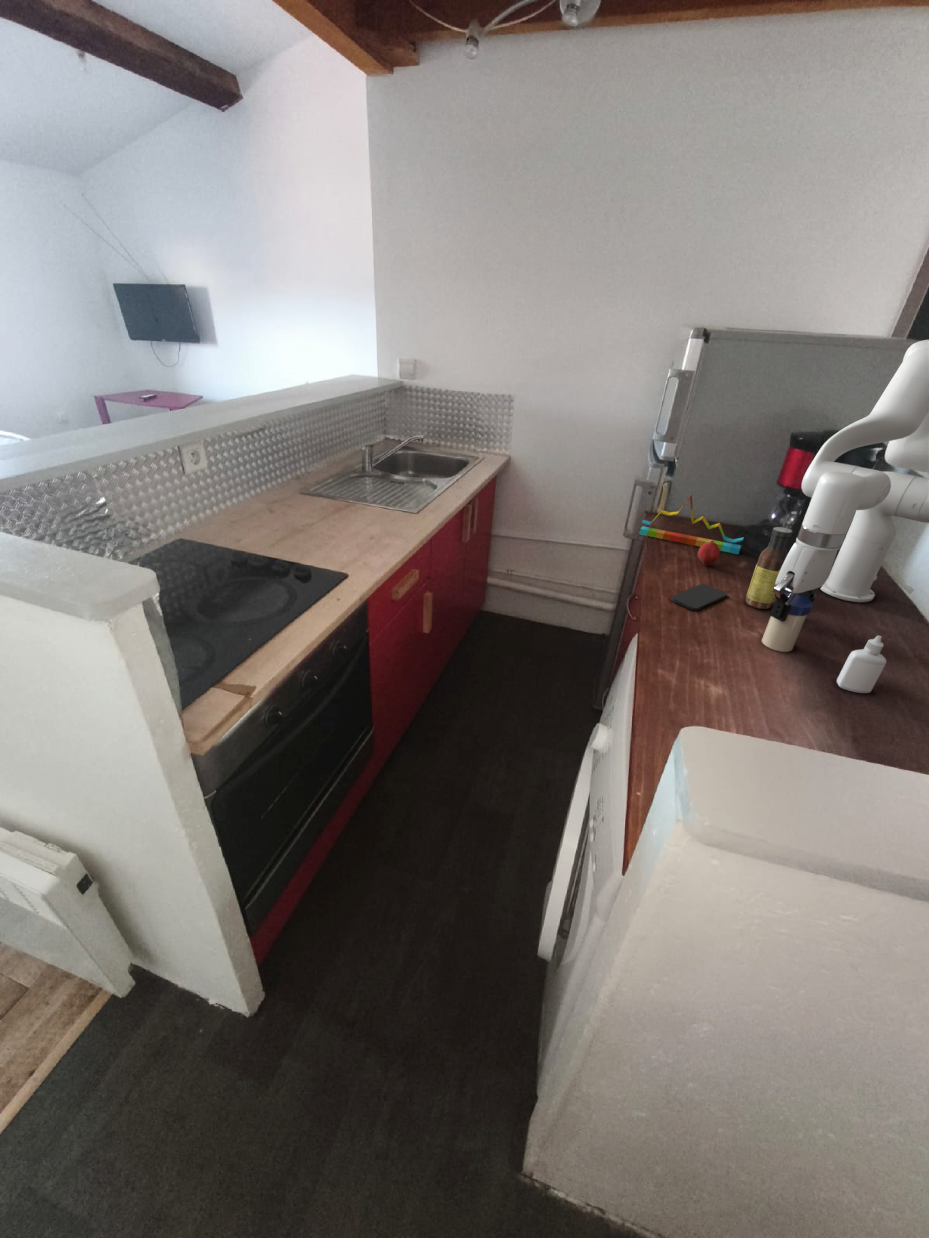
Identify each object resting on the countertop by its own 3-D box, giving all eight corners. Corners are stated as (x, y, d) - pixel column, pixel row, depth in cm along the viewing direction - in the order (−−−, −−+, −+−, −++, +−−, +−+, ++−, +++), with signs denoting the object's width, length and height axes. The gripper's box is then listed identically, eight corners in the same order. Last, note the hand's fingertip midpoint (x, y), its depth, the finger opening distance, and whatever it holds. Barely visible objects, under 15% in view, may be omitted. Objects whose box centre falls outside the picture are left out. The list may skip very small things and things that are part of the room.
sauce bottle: (774, 611, 126) (803, 536, 116) (747, 608, 127) (774, 533, 117) (766, 599, 132) (793, 526, 122) (741, 596, 133) (765, 524, 123)
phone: (729, 593, 132) (696, 609, 124) (728, 596, 133) (695, 612, 125) (703, 582, 137) (669, 597, 129) (702, 585, 138) (669, 600, 130)
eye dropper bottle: (866, 699, 97) (894, 647, 91) (833, 685, 101) (858, 634, 95) (872, 689, 100) (900, 638, 94) (839, 676, 103) (864, 626, 97)
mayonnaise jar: (772, 634, 117) (788, 593, 112) (798, 647, 112) (817, 605, 107) (755, 640, 115) (771, 599, 109) (781, 654, 110) (799, 612, 104)
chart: (739, 550, 160) (754, 504, 152) (738, 554, 157) (753, 507, 150) (641, 531, 173) (650, 487, 165) (639, 534, 170) (648, 490, 162)
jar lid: (772, 597, 113) (775, 590, 112) (808, 604, 110) (811, 596, 109) (774, 611, 107) (777, 603, 106) (812, 618, 105) (815, 610, 104)
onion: (692, 560, 152) (699, 535, 148) (713, 561, 152) (720, 536, 148) (697, 568, 148) (705, 542, 143) (718, 570, 147) (726, 544, 143)
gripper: (828, 525, 107) (798, 599, 116) (773, 536, 100) (746, 615, 109) (866, 537, 101) (830, 615, 110) (810, 550, 94) (778, 632, 103)
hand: (789, 614), depth 110 cm, fingers closed on jar lid, 6 cm apart
